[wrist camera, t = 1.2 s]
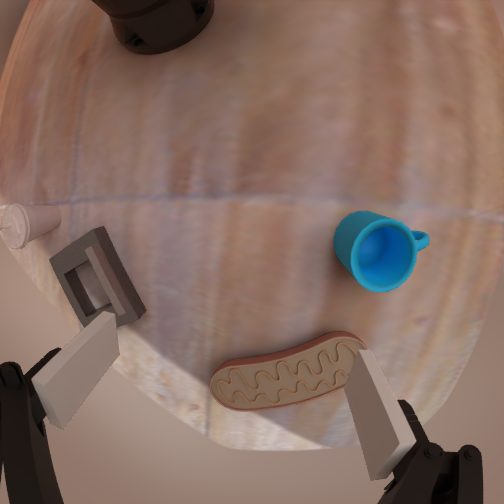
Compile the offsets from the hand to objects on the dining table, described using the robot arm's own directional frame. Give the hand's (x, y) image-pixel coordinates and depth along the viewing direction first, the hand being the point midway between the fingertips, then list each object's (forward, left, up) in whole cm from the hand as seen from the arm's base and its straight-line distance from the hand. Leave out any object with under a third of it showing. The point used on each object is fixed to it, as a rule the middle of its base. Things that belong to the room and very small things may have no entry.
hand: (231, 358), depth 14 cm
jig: (-5, -24, -24) cm, 34 cm away
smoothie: (-18, -27, -24) cm, 41 cm away
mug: (+5, +16, -24) cm, 29 cm away
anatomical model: (+18, -2, -24) cm, 30 cm away
